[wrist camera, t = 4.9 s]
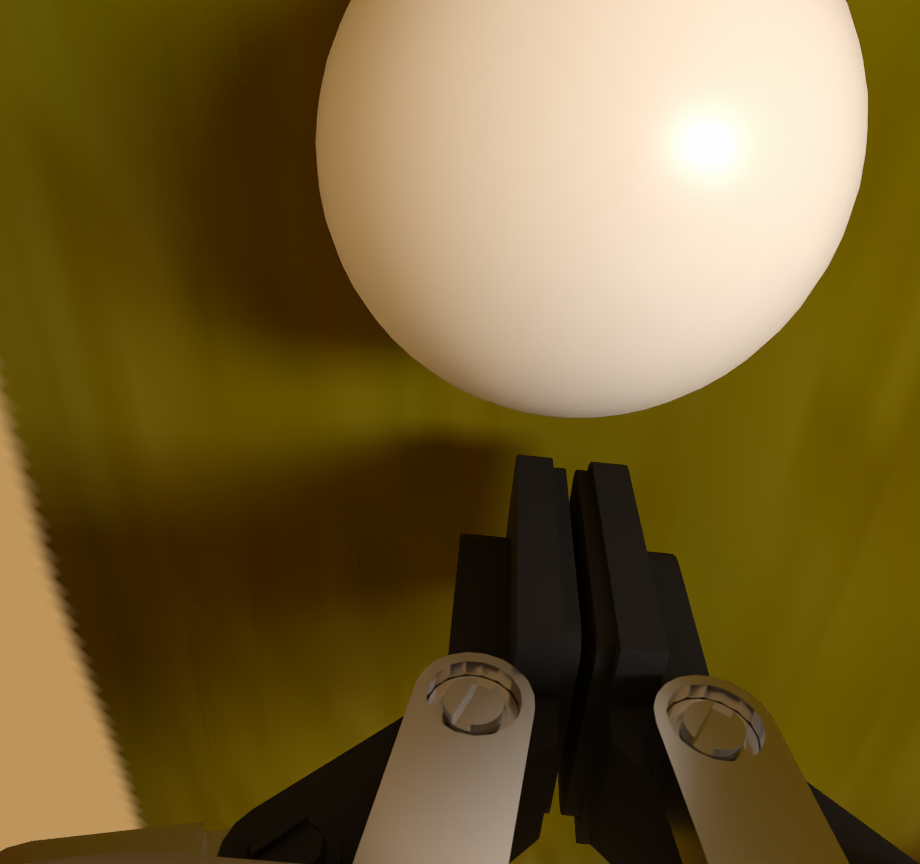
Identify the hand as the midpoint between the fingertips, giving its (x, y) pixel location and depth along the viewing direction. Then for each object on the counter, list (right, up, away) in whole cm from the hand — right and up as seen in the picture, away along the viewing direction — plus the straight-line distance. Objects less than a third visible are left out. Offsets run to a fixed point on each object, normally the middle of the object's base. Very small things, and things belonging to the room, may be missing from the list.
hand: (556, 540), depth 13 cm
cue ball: (0, +5, -4) cm, 6 cm away
